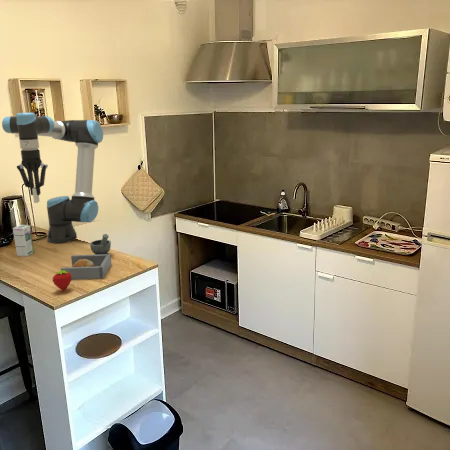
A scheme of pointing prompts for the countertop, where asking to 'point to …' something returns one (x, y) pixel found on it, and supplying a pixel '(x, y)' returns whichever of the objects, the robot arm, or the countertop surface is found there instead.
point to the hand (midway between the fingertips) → (36, 202)
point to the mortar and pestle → (101, 245)
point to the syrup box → (23, 240)
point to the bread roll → (84, 263)
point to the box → (90, 272)
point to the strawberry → (62, 279)
